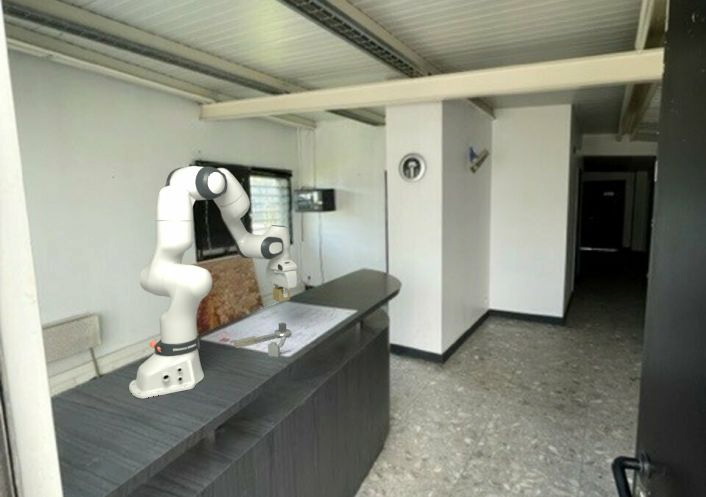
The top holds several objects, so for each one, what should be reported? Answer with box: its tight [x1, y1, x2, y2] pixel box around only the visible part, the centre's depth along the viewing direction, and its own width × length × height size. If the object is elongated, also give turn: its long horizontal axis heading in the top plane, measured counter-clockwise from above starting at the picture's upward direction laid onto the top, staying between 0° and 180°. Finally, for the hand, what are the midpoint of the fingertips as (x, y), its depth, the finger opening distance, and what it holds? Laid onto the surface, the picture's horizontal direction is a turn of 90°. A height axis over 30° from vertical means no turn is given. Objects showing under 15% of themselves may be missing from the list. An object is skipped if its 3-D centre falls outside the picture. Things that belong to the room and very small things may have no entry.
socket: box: [272, 286, 291, 303], centre depth 182 cm, size 5×5×5 cm
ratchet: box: [233, 322, 292, 349], centre depth 180 cm, size 25×7×6 cm, turn 129°
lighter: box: [267, 336, 287, 358], centre depth 163 cm, size 7×2×8 cm, turn 74°
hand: (281, 295), depth 182 cm, fingers closed on socket, 5 cm apart
